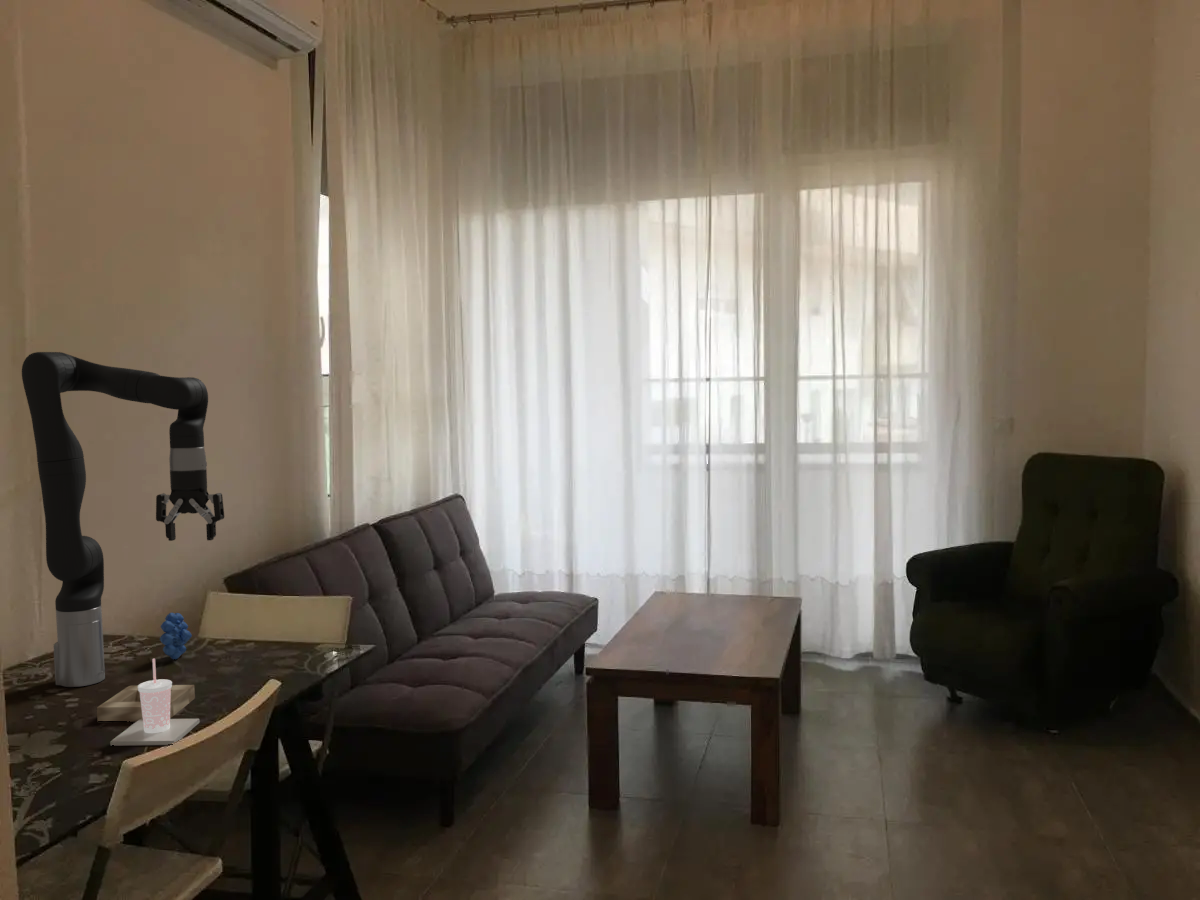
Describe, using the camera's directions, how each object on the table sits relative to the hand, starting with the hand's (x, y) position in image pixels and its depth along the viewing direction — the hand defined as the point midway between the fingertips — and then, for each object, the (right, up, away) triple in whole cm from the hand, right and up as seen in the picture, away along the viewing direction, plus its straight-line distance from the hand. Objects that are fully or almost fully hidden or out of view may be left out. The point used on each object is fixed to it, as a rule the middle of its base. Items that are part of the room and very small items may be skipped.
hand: (191, 540), depth 220 cm
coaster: (+4, -35, -27) cm, 45 cm away
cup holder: (-4, -34, -13) cm, 37 cm away
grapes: (-13, -32, +24) cm, 41 cm away
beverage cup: (+4, -35, -27) cm, 44 cm away
